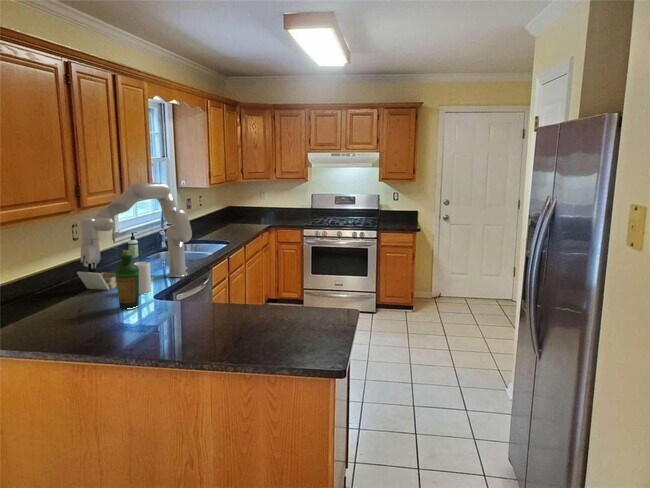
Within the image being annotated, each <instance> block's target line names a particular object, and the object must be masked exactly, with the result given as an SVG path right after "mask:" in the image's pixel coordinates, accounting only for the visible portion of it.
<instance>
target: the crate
mask: <svg viewBox="0 0 650 488" xmlns="http://www.w3.org/2000/svg"><path fill="white" fill-rule="evenodd" d="M99 273H100V272H99ZM100 274H101V275H102V277H103V279H104V280H105V282H106V283H107V285H108V286H109V288H110V290H113V289H115V288H117V283H116V275H115V272H101V273H100Z"/></svg>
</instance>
